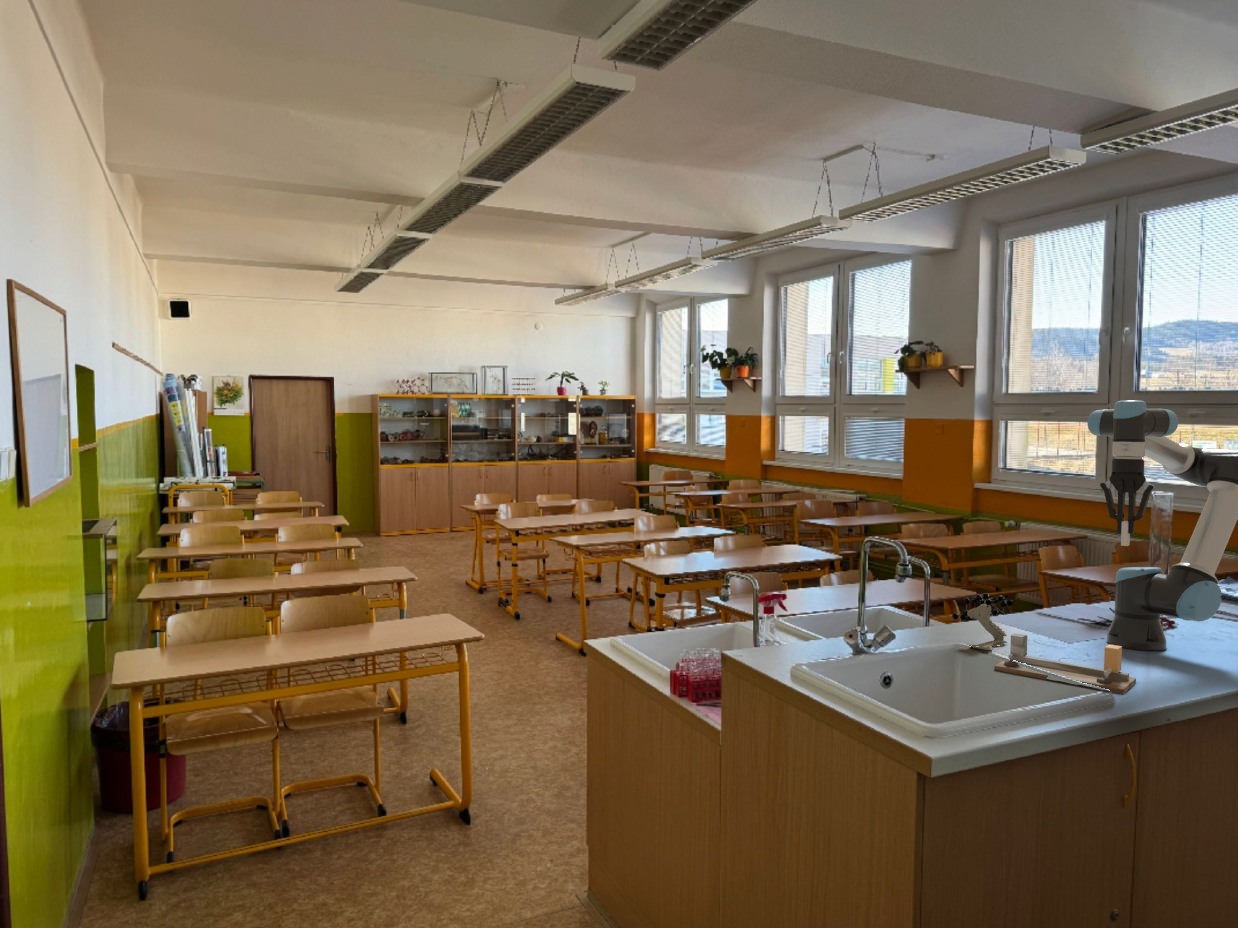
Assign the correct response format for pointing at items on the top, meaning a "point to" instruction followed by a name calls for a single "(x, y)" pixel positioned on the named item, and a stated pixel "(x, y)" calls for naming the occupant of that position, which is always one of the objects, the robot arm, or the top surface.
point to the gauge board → (1069, 674)
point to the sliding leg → (1112, 659)
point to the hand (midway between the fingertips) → (1125, 545)
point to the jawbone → (987, 627)
